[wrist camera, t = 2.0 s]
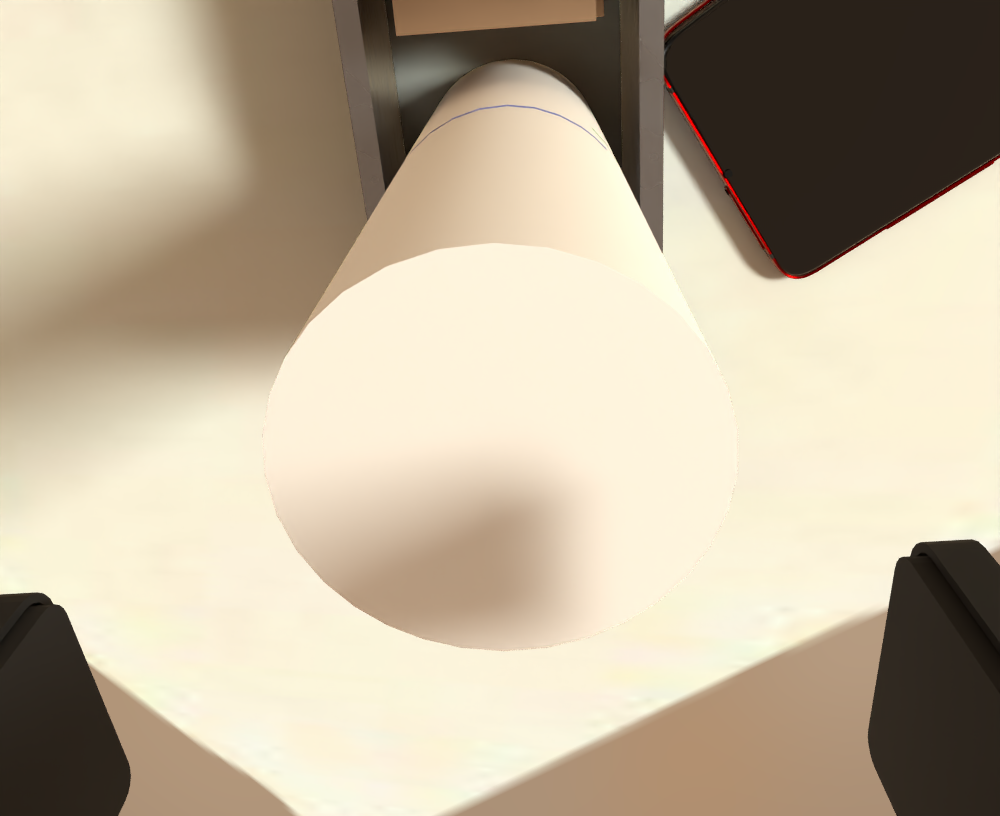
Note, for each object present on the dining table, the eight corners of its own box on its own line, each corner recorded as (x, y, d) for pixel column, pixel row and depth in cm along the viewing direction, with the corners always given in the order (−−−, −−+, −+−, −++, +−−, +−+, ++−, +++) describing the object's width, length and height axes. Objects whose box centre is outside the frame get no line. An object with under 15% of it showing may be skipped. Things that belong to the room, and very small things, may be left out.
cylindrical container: (484, 21, 32) (406, 135, 10) (633, 123, 34) (842, 410, 12) (396, 178, 35) (189, 531, 13) (538, 265, 37) (563, 708, 15)
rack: (332, -219, 29) (223, -327, 18) (639, -253, 28) (710, -387, 18) (403, 275, 37) (357, 398, 27) (641, 258, 37) (690, 376, 26)
